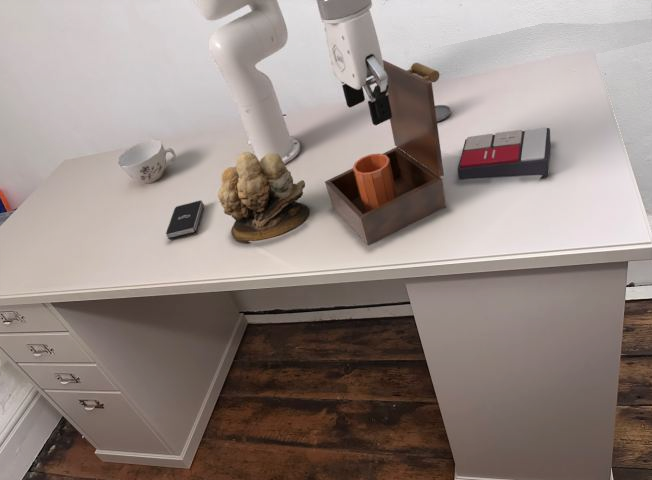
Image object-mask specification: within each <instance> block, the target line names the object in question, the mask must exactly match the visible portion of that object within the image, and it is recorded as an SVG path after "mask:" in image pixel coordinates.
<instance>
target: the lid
mask: <svg viewBox="0 0 652 480" xmlns="http://www.w3.org/2000/svg"><path fill="white" fill-rule="evenodd" d="M382 60H383V66H384V71H385V72H386V73H387V75H388V86H389V87H388V92H389V95H388V97H389V103H390V108H391V113H392V118H391V119H389V122H390V123H389V124H390V128H391V133H392V137H393V138H392V139H393V142H394V146H395V148H396V147H398V148H399V149H401V150H402V151H403V152H405V153H406V154H408V155H409V156H411V157H412V158H413V159H415V160H416V161H418V162H419V163H421V164H422V165H423V166H425V167H426V168H428V169H429V170H431V171H432V172H433V173H435V174H436V175H438V176H439V177H441V178H442V177H444V175H445V173H444V166H443V157H442V151H441V150H442V149H441V141H440V136H439V128H438V121H437V119H436V111H435V106H436V104H435V97H434V89H433V83H436V82H438V80H439V78H440V72H439V71H438V70H437V69H434V68H431V67H430V66H427V65H425V64H422V63H420V62H414V63H413V64H412V65H411V67H410V68H409V69H404V68H402V67H399V66H397V65H395V64H393V63H391V62H389V61H387V60H384V59H382Z"/></svg>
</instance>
